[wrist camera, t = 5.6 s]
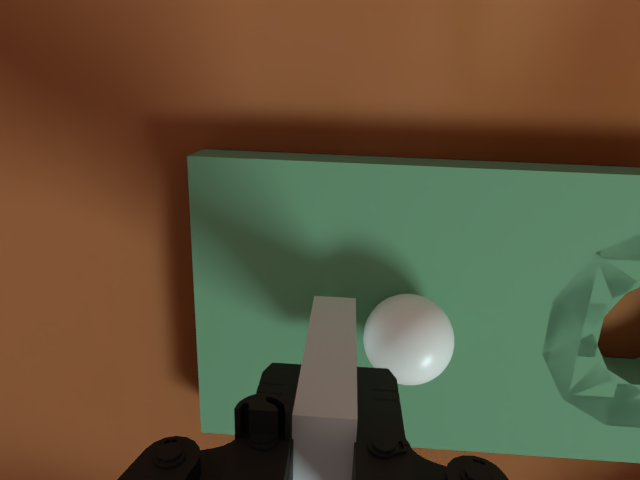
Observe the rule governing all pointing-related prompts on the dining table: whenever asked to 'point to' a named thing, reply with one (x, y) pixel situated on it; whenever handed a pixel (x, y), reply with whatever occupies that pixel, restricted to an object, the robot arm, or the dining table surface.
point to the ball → (409, 338)
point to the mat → (427, 287)
